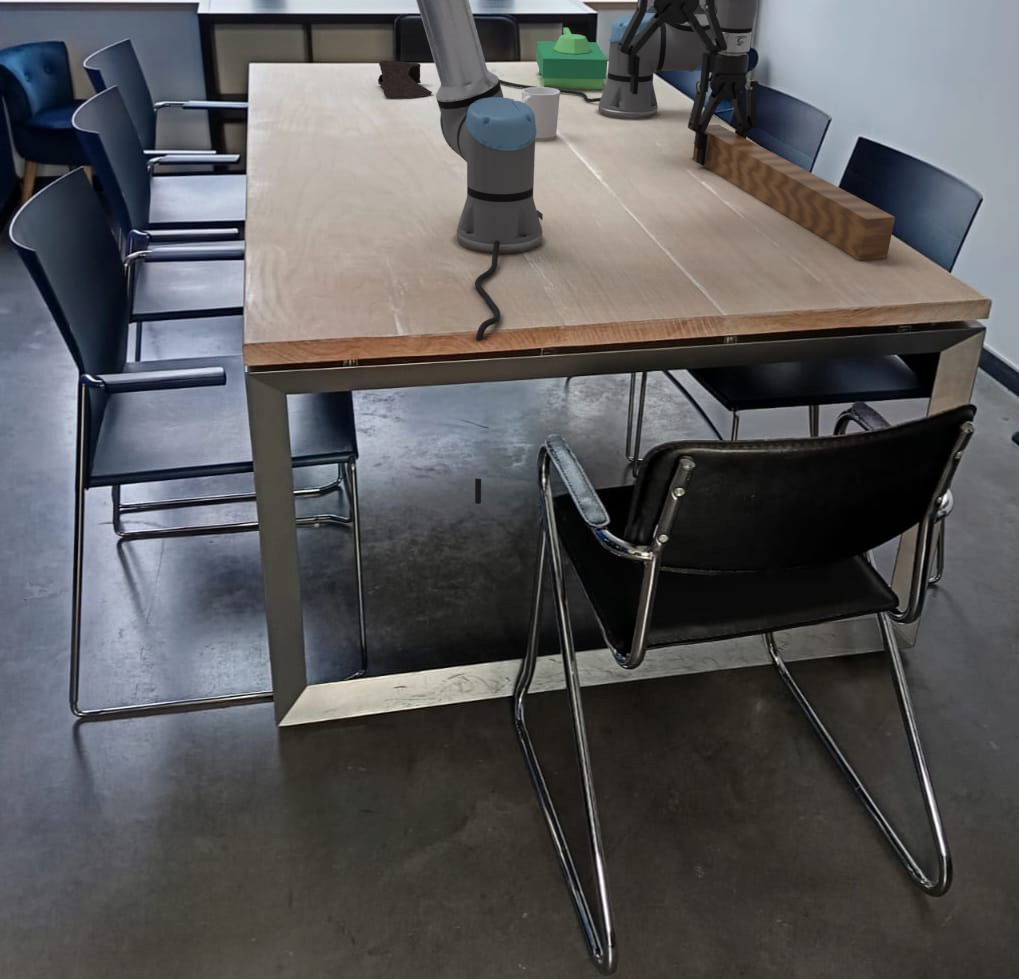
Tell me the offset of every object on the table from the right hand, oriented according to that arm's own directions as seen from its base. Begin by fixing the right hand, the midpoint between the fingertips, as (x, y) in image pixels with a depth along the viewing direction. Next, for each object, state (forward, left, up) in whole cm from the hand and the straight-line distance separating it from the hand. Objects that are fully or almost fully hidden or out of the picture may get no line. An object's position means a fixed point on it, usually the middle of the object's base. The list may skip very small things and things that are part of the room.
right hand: (718, 162), depth 241 cm
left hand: (+23, -24, +20) cm, 39 cm away
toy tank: (-96, -1, -1) cm, 96 cm away
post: (+27, 0, -1) cm, 27 cm away
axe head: (-89, -51, -1) cm, 103 cm away
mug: (-33, -31, -1) cm, 45 cm away
